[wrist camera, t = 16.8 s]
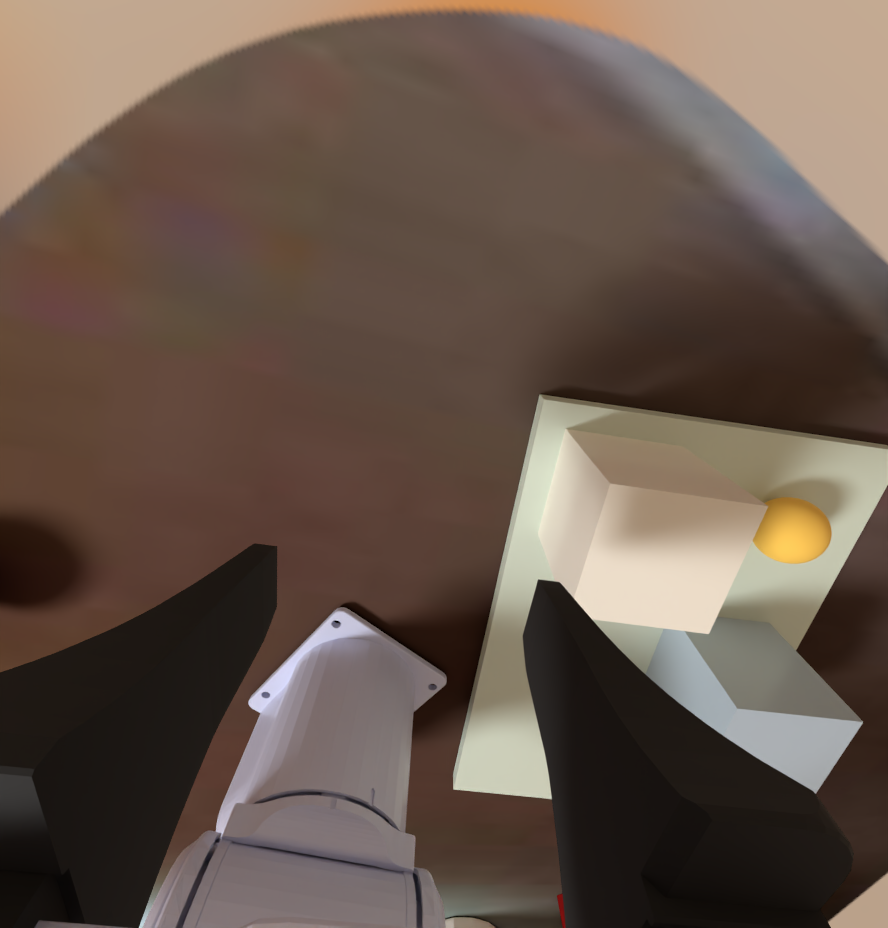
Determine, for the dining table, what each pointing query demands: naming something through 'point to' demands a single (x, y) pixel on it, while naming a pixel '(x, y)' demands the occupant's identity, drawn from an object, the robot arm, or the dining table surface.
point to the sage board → (750, 598)
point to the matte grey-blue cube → (757, 695)
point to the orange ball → (793, 531)
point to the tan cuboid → (645, 531)
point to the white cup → (467, 923)
